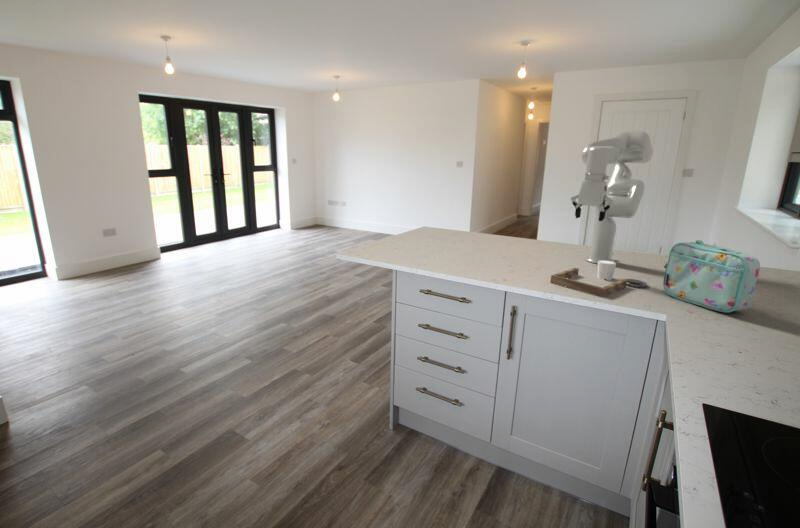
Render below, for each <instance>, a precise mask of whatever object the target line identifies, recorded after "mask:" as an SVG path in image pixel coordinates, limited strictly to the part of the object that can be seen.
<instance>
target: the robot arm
mask: <svg viewBox="0 0 800 528" xmlns="http://www.w3.org/2000/svg"><path fill="white" fill-rule="evenodd" d="M652 145H653V144H652V141H651V137H650V135H649V134H648V132H646V131H642V130H635V131H633V130H628V131H620V132H618V133H616V134H615V135H613V136H612V137H611V138H606V139H605V138H604V139H601V140H597V141H594V142H591V143H589V144H588V145H586V146H585V147H584V148H583V150H582V152H581V160H582V162H583V163H584V164H585V174H584V180H583V181H582V183H581V186H580V190H579V193H578V194H576V195H574V196H572V197H570V201H571V204H572V205H573V206H574V208H575V212H574V216H575V219H578V218H581V214H582V208H581V207H583V206H589V207H594V221H593V223H594V224H593V228H592V236H591V243H590V250H589V255H587V256H585V260H586V262H588V263H592V264H597V265H598V261H599V260H607V261H612V262H615V260H614V259H613V258H612V256H614V252H613V249H614V245H615V243H614V242H615V237H616V231H617V223H616V221H615V219H614V217H615V218H622V219H631V218H634V216H635V215H636V213H637V211H638V209H639V206H640V204H641V201H642V199H643V195H644V193H645V184H644V182H643V180H641V179H637V178H632V176H633V175H632V174H633V173H632V170H631V169H630V167H629V166H627V164H626V163H629V164H646V163H648V162H650V161H651V160H652V157H653V153H654V151H653V149H654V148H653V146H652ZM608 166H611V169H612V170H611V171H612V173H611V175H610V176H609V175H607V174H606V173H607V167H608ZM606 180H608V182H607V181H606Z"/></svg>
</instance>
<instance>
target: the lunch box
mask: <svg viewBox="0 0 800 528" xmlns="http://www.w3.org/2000/svg"><path fill="white" fill-rule="evenodd" d="M668 255H669V256H668V260H667V262H666V263H665V265H664V267H663V268H664V269H665V270H664V274H663V275H664V276H663V281H662V283H663V285H662V286H663V289H664V292H665V293H666V294H667V295H669V296H671V297H672V298H675V299H678V300H680V301H684V302H686V303H689V304H693V305H695V306H699V307H702V308H706V309H708V310H712V311H716V312H721V313H732V312H738V311H739V312H744V311H747V310H748V309H749V308H750V306H751V303H752V301H753V298H754V293H755V289H756V286H757V281H758V279H759V274H760V270H761V264H760V261H759V258H757V257H756V256H754V255H751V254H748V253H746V252H742V251H738V250H735V249H734V250H733V249H729V248H726V247H721V246H716V245H713V244H707V243H704V242H703V240H700V239H699V240H695V241H694V242H693V241H690V242H683V241H682V242H678V243H676V244H674V245H673V246H672V247H671V249H670V252H669V254H668Z"/></svg>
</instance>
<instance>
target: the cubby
mask: <svg viewBox="0 0 800 528" xmlns="http://www.w3.org/2000/svg"><path fill="white" fill-rule="evenodd" d="M579 270H580V268H579V267H573V268H570V269H567V270H564V271H561V272H558V273H555V274H552V275H550V282H552V283H551V284H553V283H555V284H554V285H557V284H559V285H558V286H560V285H562V287H564V286H566V287H565V288H568V287H569V288H568V289H571V288H572V289H571V290H575V289H576V291H578V290H579V292H582V291H583V293H586V292H587V294H589V293H590V295H593V294H594V295H593V296H596V295H597V297H600V296H601V297H600V298H604V297H605V298H606V297H608V296H610V295H611V294H613V293H616V292H618V291H620V289H621V290H623V289H625V288H627V286H626V284H627V280H626V279H627V278H622V279H620V280H617V281H615V282H613V283H610V284H608V285H605V286H603V287H601V286H599V285H594V284H591V283H590V284H589V283H586V282H582V281H578V280H574V279H571V278H573V277H572V276H574V277H576V276H575V275H577V276H579ZM570 277H571V278H570ZM567 278H568V279H567ZM622 288H623V289H622ZM609 294H610V295H609Z"/></svg>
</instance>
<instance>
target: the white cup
mask: <svg viewBox="0 0 800 528" xmlns="http://www.w3.org/2000/svg"><path fill="white" fill-rule="evenodd" d="M616 266H617V263H616V261H614V262H612V261H607V260H599V261H598V264H597V274H596V275H597V276H596V277H598V278H597V279H599V278H601V279H600V280H602V279H606V280H605V281H612V280H613V277H614V273H615V270H616ZM611 279H612V280H611Z"/></svg>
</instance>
